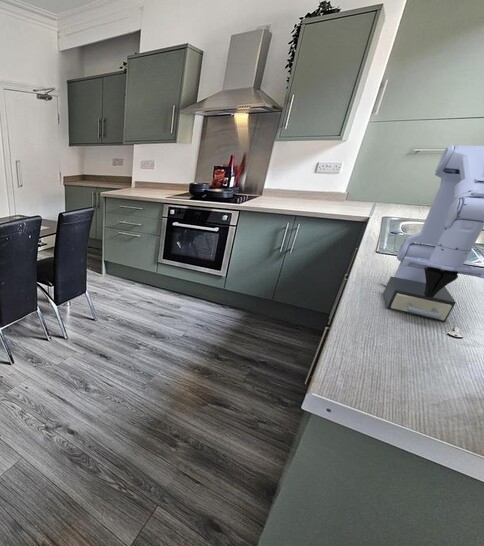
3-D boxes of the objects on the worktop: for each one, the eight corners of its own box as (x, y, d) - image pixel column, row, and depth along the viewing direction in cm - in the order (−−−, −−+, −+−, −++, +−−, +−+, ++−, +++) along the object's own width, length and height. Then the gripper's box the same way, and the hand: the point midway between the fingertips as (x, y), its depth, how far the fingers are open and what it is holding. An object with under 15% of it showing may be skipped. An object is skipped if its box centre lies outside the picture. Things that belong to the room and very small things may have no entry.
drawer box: (444, 322, 83) (456, 302, 81) (386, 308, 90) (395, 289, 88) (435, 305, 92) (445, 286, 90) (382, 293, 99) (390, 276, 97)
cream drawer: (448, 328, 79) (457, 314, 77) (393, 315, 85) (399, 301, 83) (435, 304, 91) (442, 291, 89) (387, 294, 97) (392, 281, 95)
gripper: (414, 244, 78) (392, 292, 83) (505, 257, 70) (474, 310, 75) (410, 238, 83) (389, 284, 88) (494, 250, 75) (466, 299, 80)
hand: (428, 295), depth 82 cm, fingers closed
